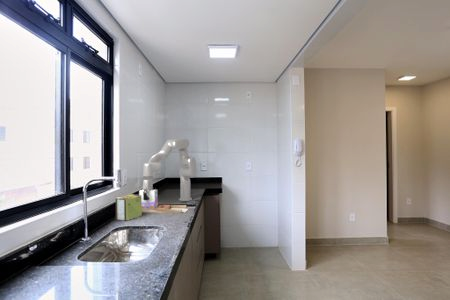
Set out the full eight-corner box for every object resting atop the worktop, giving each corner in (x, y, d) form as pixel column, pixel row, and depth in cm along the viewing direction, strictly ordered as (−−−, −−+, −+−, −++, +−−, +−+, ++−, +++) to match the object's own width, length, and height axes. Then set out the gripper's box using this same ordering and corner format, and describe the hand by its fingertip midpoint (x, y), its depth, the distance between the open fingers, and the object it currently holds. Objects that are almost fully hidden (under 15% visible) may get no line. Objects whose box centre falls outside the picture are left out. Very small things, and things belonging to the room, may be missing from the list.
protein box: (142, 215, 192) (141, 195, 192) (126, 221, 178) (125, 199, 178) (131, 214, 197) (131, 194, 197) (115, 219, 183) (115, 197, 183)
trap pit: (162, 208, 214) (162, 204, 214) (170, 208, 213) (170, 205, 213) (157, 211, 203) (157, 208, 203) (165, 212, 202) (165, 208, 202)
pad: (171, 208, 213) (171, 208, 213) (188, 209, 211) (188, 208, 211) (166, 212, 202) (166, 211, 202) (185, 212, 201) (185, 212, 201)
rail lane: (143, 207, 218) (143, 204, 218) (186, 208, 214) (186, 205, 214) (134, 211, 203) (134, 208, 203) (181, 213, 199) (181, 209, 199)
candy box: (157, 209, 212) (157, 189, 212) (155, 210, 206) (155, 190, 206) (141, 208, 213) (141, 189, 213) (138, 210, 208) (138, 190, 207)
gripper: (148, 176, 218) (148, 196, 218) (138, 179, 201) (138, 201, 201) (156, 177, 217) (156, 197, 217) (148, 179, 200) (148, 201, 200)
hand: (148, 199), depth 209 cm, fingers open, 9 cm apart
